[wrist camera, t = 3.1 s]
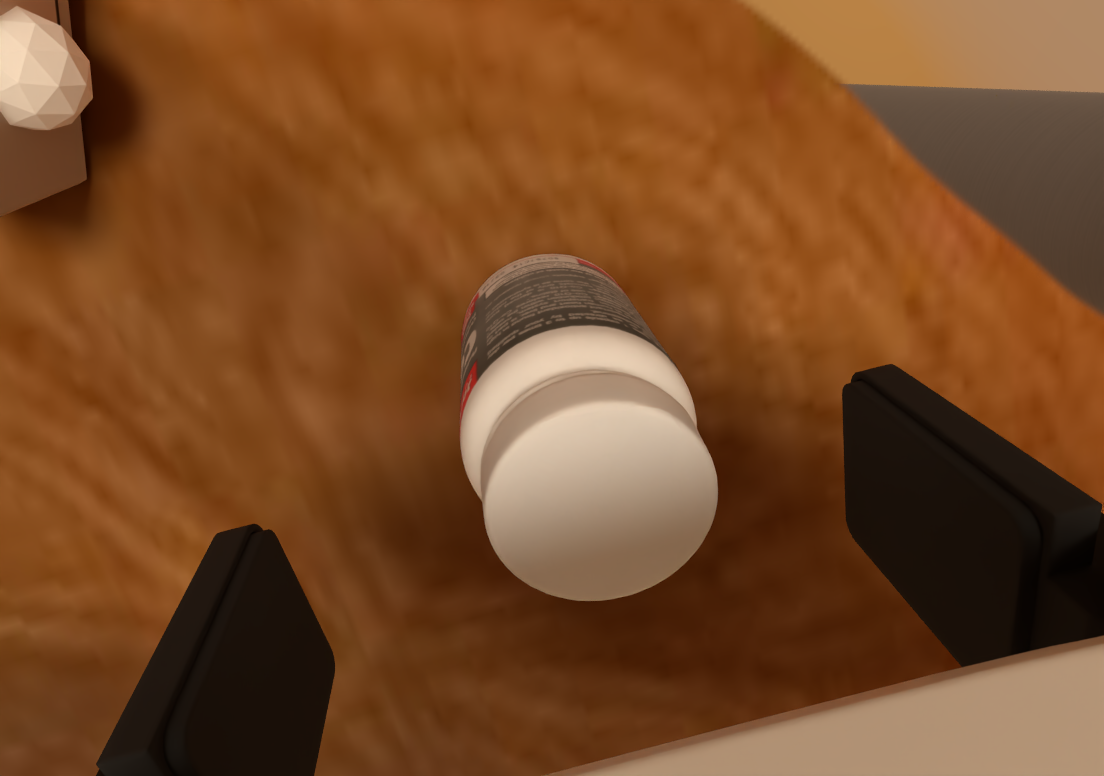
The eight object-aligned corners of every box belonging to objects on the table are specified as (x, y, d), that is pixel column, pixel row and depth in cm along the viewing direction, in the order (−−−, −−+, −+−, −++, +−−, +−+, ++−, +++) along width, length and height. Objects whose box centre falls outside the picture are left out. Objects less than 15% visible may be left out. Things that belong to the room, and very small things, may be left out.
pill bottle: (434, 287, 18) (407, 442, 11) (603, 223, 18) (700, 334, 10) (499, 434, 20) (517, 652, 13) (652, 378, 20) (763, 566, 12)
